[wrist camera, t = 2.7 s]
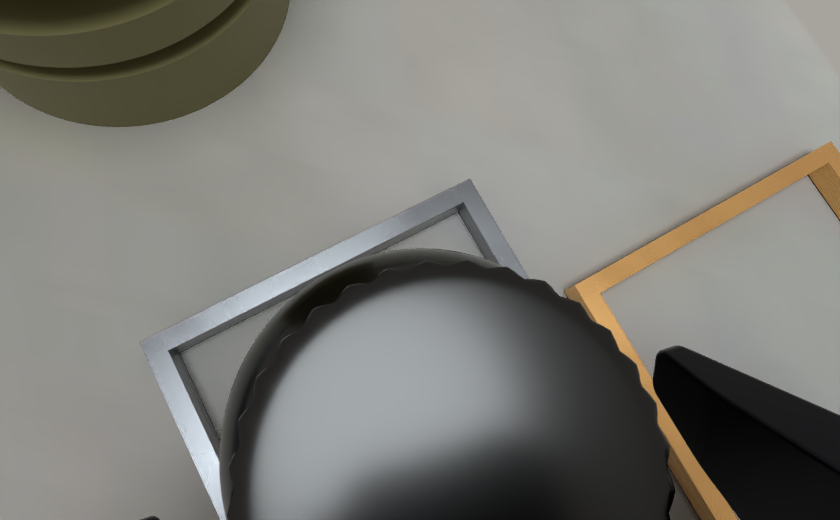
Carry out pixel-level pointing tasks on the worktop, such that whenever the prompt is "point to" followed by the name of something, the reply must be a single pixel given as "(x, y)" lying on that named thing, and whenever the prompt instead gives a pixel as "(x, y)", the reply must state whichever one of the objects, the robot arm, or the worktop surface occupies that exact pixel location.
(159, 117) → the piston
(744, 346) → the worktop surface
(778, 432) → the robot arm
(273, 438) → the supplement bottle
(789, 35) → the worktop surface
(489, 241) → the silver gold metal frame
